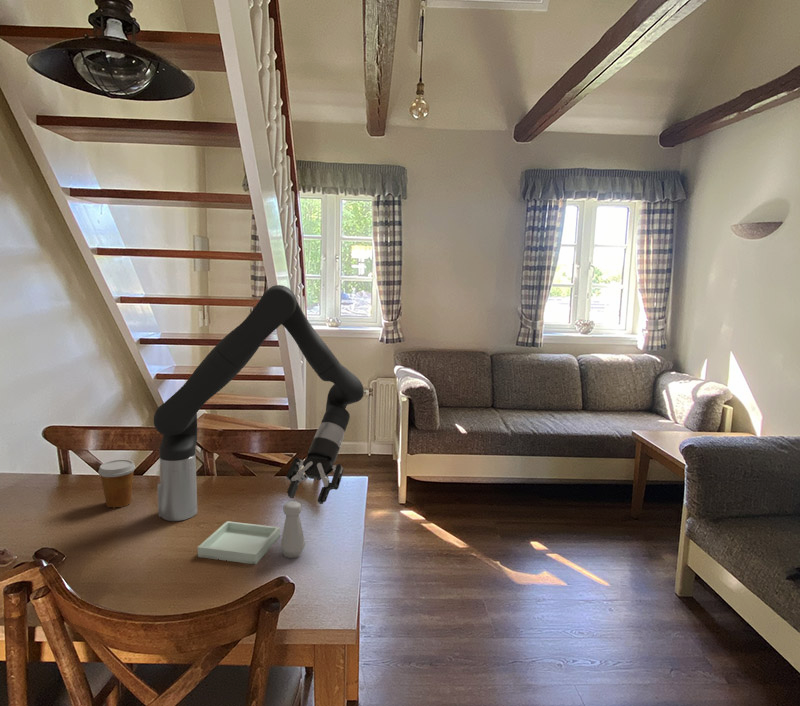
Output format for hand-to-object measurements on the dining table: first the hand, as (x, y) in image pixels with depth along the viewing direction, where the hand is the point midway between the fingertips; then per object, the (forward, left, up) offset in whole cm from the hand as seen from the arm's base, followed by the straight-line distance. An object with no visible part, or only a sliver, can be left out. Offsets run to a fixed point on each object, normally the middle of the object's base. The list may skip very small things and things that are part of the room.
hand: (305, 499), depth 133 cm
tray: (-15, -5, -12) cm, 20 cm away
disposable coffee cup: (-61, +9, -12) cm, 63 cm away
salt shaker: (-1, -6, -12) cm, 13 cm away
